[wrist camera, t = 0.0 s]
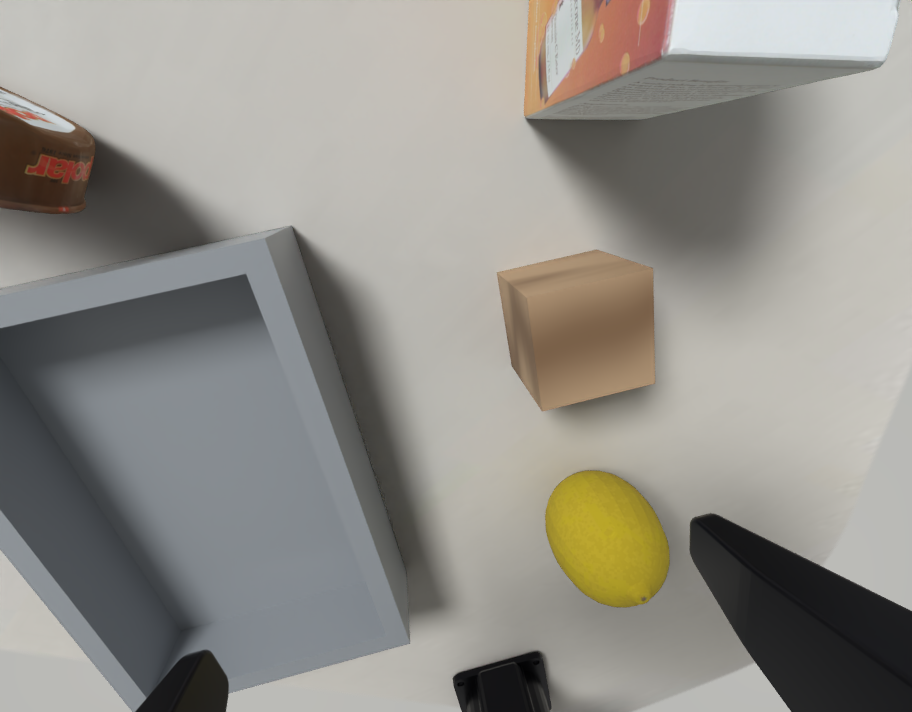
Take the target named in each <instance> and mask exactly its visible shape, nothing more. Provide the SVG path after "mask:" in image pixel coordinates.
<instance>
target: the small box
mask: <svg viewBox="0 0 912 712" xmlns="http://www.w3.org/2000/svg"><path fill="white" fill-rule="evenodd" d="M900 2H901V0H529V14H528V34H527V55H526V78H525V99H524V116H525V117H526V118H531V119H583V120H643V119H647V118H651V117H656V116H661V115H666V114H670V113H675V112H680V111H684V110H689V109H694V108H699V107H703V106H708V105H713V104H717V103H722V102H727V101H731V100H736V99H740V98H744V97H749V96H754V95H758V94H762V93H767V92H772V91H776V90H780V89H785V88H789V87H794V86H799V85H804V84H808V83H813V82H817V81H822V80H827V79H831V78H836V77H841V76H846V75H851V74H856V73H861V72H865V71H870V70H873V69H876V68H878V67H880V66H881V65H882V64H883V63H884V62H885V61H886V59H887V56H888V53H889V50H890V47H891V43H892V39H893V36H894V32H895V29H896V26H897V22H898V17H899V15H898V10H899V6H900Z"/></svg>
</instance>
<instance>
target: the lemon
mask: <svg viewBox="0 0 912 712" xmlns="http://www.w3.org/2000/svg"><path fill="white" fill-rule="evenodd" d="M545 520H546V533H547V537H548V540H549V543H550V546H551V549H552V551H553V554H554V556H555V558H556V560H557V562H558V564H559V565H560V567H561V568H562V570H563V571H564V572H565V574H566V575H567V576H568V577H569V579H570V580H571V581H572V582H573V583H574V584H575V586H576V587H577V588H578V589H579V590H580V591H581V592H583V593H584V594H585V595H587V596H588V597H590V598H592V599H593V600H595V601H597V602H598V603H601V604H604V605H608V606H612V607H632V606H637V605H639V604H645V603H647V602H648V601H649V600H650V598H652V597H653V596H654V595H655V594H656V593H657V592H658V591H659V589H660V588H661V587H662V585H663V583H664V581H665V579H666V576H667V573H668V569H669V564H670V560H669V546H668V541H667V538H666V536H665V533H664V531H663V528H662V526H661V524H660V521H659V519H658V517H657V515H656V513H655V512H654V510H653V509H652V507H651V506H650V504H649V503H648V502H647V501H646V500H645V498H644V497H643V496H642V495H641V494H640V493H639V492H638V491H637V490H636V489H635V488H634V487H633V486H632V485H630V484H629V483H628V482H626V481H624V480H623V479H621V478H619V477H617V476H615V475H613V474H610V473H606V472H602V471H582V472H578V473H575V474H573V475H571V476H569V477H567V478H566V479H564V480H563V481H562V482H560V484H559V485H558V486H557V487H556V488H555V489H554V491H553V493H552V495H551V496H550V498H549V501H548V505H547V508H546V515H545Z"/></svg>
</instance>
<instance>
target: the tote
mask: <svg viewBox="0 0 912 712" xmlns="http://www.w3.org/2000/svg"><path fill="white" fill-rule="evenodd" d="M0 550H1V551H2V552H3V553H4V554H5V556H6V557H7V558H8V559H9V561H10V562H11V563H12V564H13V566H14V567H15V568H16V569H17V570H18V572H19V573H20V574H21V575H22V577H23V578H24V579H25V580H26V582H27V583H28V584H29V585H30V586H31V588H32V589H33V590H34V591H35V593H36V594H37V595H38V596H39V597H40V599H41V600H42V601H43V602H44V604H45V605H46V606H47V607H48V609H49V610H50V611H51V612H52V613H53V615H54V616H55V617H56V618H57V620H58V621H59V622H60V623H61V625H62V626H63V627H64V628H65V629H66V631H67V632H68V633H69V634H70V636H71V637H72V638H73V639H74V641H75V642H76V643H77V644H78V645H79V647H80V648H81V649H82V650H83V652H84V653H85V654H86V655H87V656H88V658H89V659H90V660H91V661H92V663H93V664H94V665H95V666H96V667H97V669H98V670H99V671H100V672H101V674H102V675H103V676H104V677H105V679H106V680H107V681H108V682H109V683H110V685H111V686H112V687H113V688H114V690H115V691H116V692H117V693H118V694H119V696H120V697H121V698H122V699H123V701H124V702H125V703H126V704H127V706H128V707H129V708H130V709H131V710H132V712H135V711H136V710H137V709H138V708H139V706H140V705H141V704H142V703H143V702H144V700H145V699H146V698H147V697H148V696H149V695H150V693H151V692H152V691H153V690H154V689H155V687H156V686H157V685H158V684H159V683H160V682H161V680H162V679H163V678H164V677H165V676H166V674H167V673H168V672H169V671H170V670H171V669H172V667H173V666H174V665H175V664H176V663H177V661H178V660H179V659H180V658H182V657H183V656H184V655H187V654H189V653H193V652H197V651H201V650H205V649H207V650H209V651H211V652H212V653H213V655H214V656H215V658H216V659H217V661H218V662H219V664H220V666H221V667H222V669H223V670H224V672H225V673H226V675H227V678H228V682H229V693H232V692H236V691H239V690H243V689H247V688H250V687H254V686H257V685H261V684H265V683H268V682H272V681H276V680H279V679H283V678H286V677H290V676H294V675H297V674H301V673H304V672H308V671H312V670H315V669H319V668H323V667H326V666H330V665H333V664H337V663H341V662H344V661H348V660H352V659H355V658H359V657H362V656H366V655H370V654H373V653H377V652H381V651H384V650H388V649H391V648H395V647H399V646H402V645H406V644H410V631H409V610H408V589H407V572H406V569H405V566H404V563H403V560H402V557H401V554H400V551H399V548H398V545H397V542H396V539H395V536H394V533H393V530H392V527H391V524H390V521H389V518H388V515H387V512H386V509H385V506H384V503H383V500H382V497H381V494H380V491H379V488H378V485H377V482H376V479H375V476H374V473H373V470H372V466H371V463H370V460H369V457H368V454H367V451H366V448H365V445H364V442H363V439H362V436H361V433H360V430H359V427H358V424H357V421H356V418H355V415H354V412H353V409H352V406H351V403H350V400H349V397H348V394H347V391H346V388H345V385H344V382H343V379H342V376H341V373H340V370H339V367H338V364H337V361H336V358H335V355H334V352H333V349H332V346H331V343H330V340H329V337H328V334H327V331H326V328H325V325H324V322H323V319H322V316H321V313H320V310H319V307H318V304H317V301H316V298H315V295H314V292H313V289H312V286H311V283H310V280H309V277H308V274H307V271H306V268H305V265H304V262H303V259H302V256H301V253H300V250H299V247H298V243H297V240H296V237H295V234H294V231H293V228H292V226H288V227H283V228H278V229H274V230H269V231H264V232H260V233H255V234H251V235H246V236H241V237H237V238H232V239H227V240H223V241H218V242H214V243H209V244H204V245H200V246H195V247H191V248H186V249H181V250H177V251H172V252H167V253H163V254H158V255H154V256H149V257H144V258H140V259H135V260H130V261H126V262H121V263H117V264H112V265H107V266H103V267H98V268H93V269H89V270H84V271H80V272H75V273H70V274H66V275H61V276H56V277H52V278H47V279H43V280H38V281H33V282H29V283H24V284H19V285H15V286H10V287H6V288H1V289H0Z"/></svg>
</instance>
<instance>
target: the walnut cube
mask: <svg viewBox="0 0 912 712" xmlns="http://www.w3.org/2000/svg"><path fill="white" fill-rule="evenodd" d="M497 276H498V283H499V289H500V295H501V301H502V308H503V314H504V320H505V326H506V333H507V339H508V345H509V351H510V358H511V364H512V367H513V368H514V370H515V371H516V373H517V374H518V376H519V377H520V379H521V380H522V382H523V383H524V385H525V386H526V388H527V389H528V391H529V392H530V394H531V395H532V397H533V398H534V400H535V401H536V403H537V404H538V406H539V407H540V409H541V410H542V411H546V410H550V409H554V408H558V407H562V406H566V405H570V404H574V403H578V402H582V401H586V400H590V399H594V398H598V397H602V396H606V395H611V394H615V393H619V392H623V391H627V390H631V389H635V388H639V387H643V386H647V385H651V384H655V351H654V296H653V268H651V267H648V266H644V265H641V264H638V263H635V262H632V261H629V260H626V259H623V258H620V257H617V256H614V255H611V254H608V253H605V252H602V251H599V250H593V251H589V252H584V253H580V254H575V255H571V256H567V257H562V258H558V259H554V260H549V261H545V262H540V263H536V264H532V265H527V266H523V267H519V268H514V269H510V270H506V271H501V272H497Z"/></svg>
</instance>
